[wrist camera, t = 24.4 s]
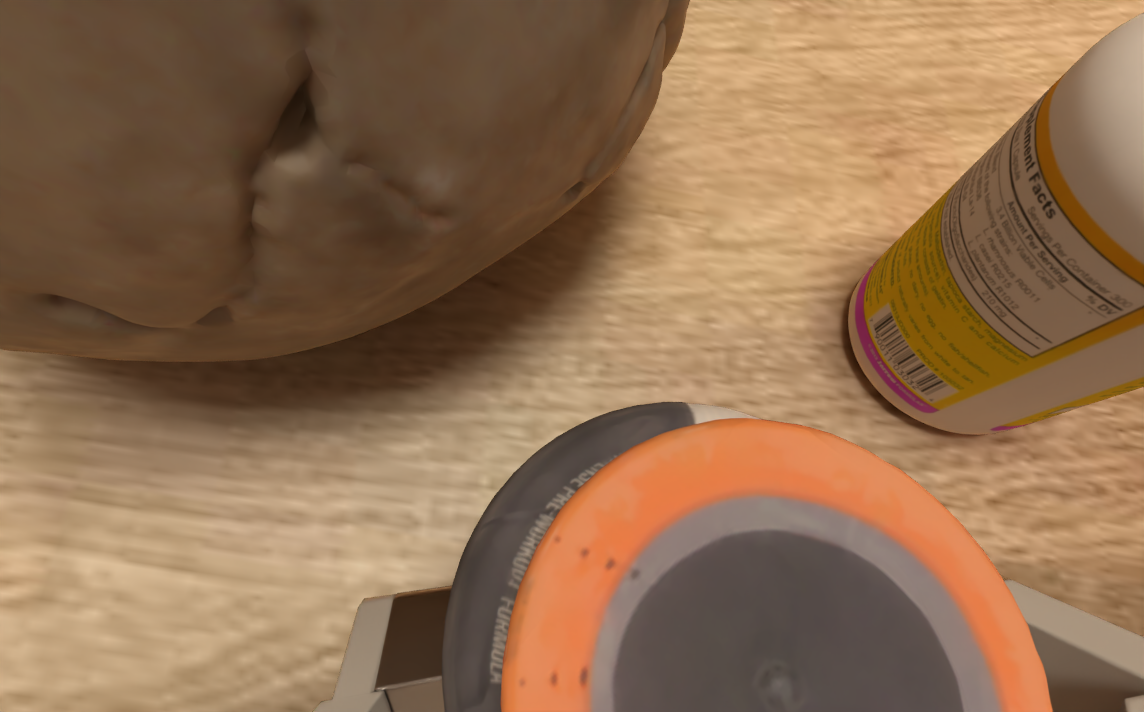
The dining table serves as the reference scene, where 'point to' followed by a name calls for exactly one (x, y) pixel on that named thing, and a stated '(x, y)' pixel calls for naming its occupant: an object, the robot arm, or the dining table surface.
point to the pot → (294, 159)
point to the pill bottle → (727, 580)
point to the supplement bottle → (1023, 265)
